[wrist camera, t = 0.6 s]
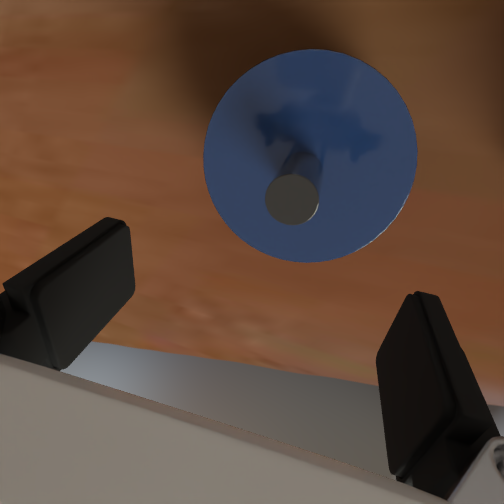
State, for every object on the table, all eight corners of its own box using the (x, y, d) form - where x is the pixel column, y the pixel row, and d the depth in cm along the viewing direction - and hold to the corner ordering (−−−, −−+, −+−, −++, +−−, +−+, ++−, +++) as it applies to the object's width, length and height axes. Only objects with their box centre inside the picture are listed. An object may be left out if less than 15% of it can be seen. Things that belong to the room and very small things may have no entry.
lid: (214, 35, 20) (165, 20, 14) (455, 68, 18) (508, 67, 12) (204, 234, 28) (170, 275, 22) (372, 273, 26) (381, 330, 20)
